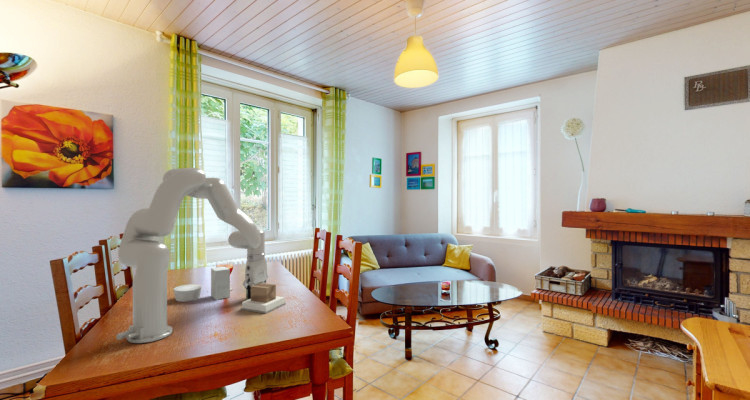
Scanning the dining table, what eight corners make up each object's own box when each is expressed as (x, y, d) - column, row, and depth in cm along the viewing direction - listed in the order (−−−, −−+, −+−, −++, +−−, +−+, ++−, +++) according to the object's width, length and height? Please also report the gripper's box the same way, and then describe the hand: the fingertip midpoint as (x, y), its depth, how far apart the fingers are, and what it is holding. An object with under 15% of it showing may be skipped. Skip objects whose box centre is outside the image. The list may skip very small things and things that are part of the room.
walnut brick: (266, 302, 139) (266, 288, 139) (250, 300, 142) (250, 286, 142) (275, 298, 144) (275, 284, 144) (260, 296, 147) (260, 282, 147)
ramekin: (193, 303, 148) (193, 290, 148) (167, 302, 148) (167, 290, 148) (206, 295, 159) (206, 284, 159) (182, 295, 160) (182, 283, 159)
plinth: (266, 313, 135) (266, 306, 135) (240, 309, 140) (240, 302, 140) (285, 304, 147) (285, 297, 147) (261, 300, 151) (261, 293, 151)
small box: (230, 297, 156) (230, 269, 156) (215, 300, 152) (215, 270, 152) (225, 293, 162) (225, 266, 162) (210, 295, 158) (210, 267, 158)
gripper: (248, 261, 145) (249, 303, 145) (274, 254, 161) (274, 292, 161) (235, 259, 148) (235, 301, 148) (262, 253, 164) (262, 291, 164)
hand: (255, 296), depth 155 cm, fingers closed on sage cube, 6 cm apart
